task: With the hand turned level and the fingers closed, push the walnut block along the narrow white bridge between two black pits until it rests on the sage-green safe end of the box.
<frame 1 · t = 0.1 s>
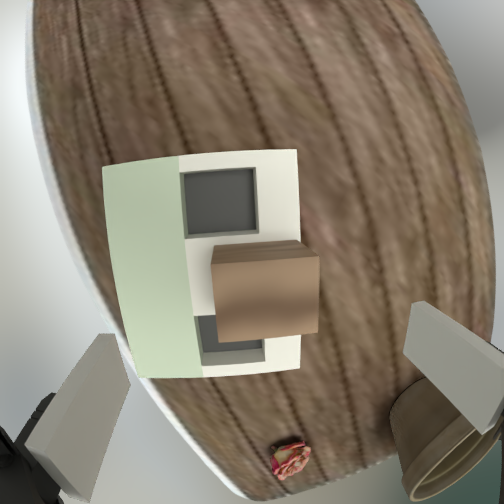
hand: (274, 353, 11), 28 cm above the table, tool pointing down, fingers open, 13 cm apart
plant pot: (416, 400, 50), on the table
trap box: (206, 269, 39), on the table
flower: (288, 444, 49), on the table
walnut block: (257, 274, 35), point 4 cm above the table, touching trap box
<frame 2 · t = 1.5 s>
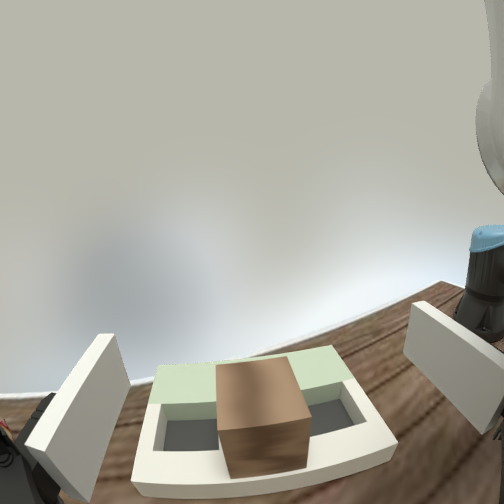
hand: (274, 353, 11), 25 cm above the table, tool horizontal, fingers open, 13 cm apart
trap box: (256, 425, 35), on the table
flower: (7, 459, 20), on the table
walnut block: (262, 442, 28), point 4 cm above the table, touching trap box
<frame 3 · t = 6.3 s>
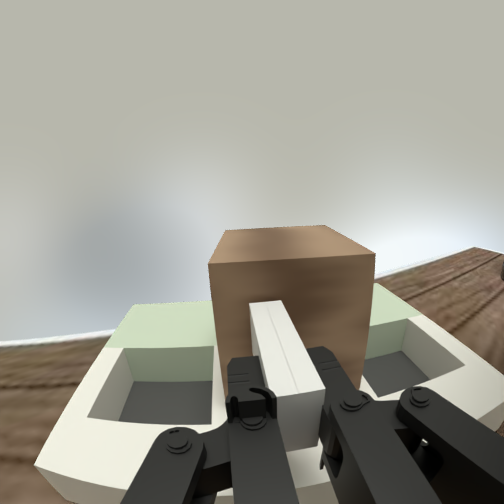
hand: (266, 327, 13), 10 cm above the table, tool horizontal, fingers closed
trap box: (279, 391, 22), on the table
walnut block: (285, 360, 20), point 4 cm above the table, touching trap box
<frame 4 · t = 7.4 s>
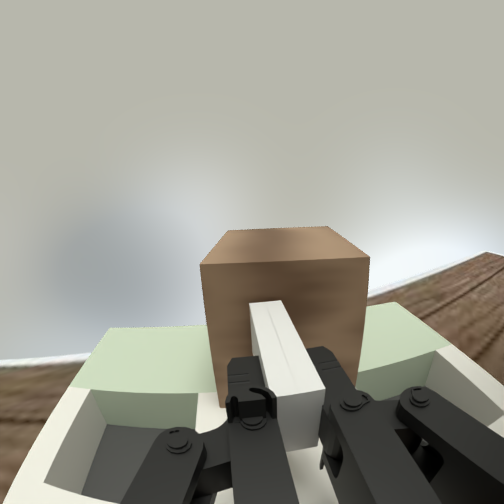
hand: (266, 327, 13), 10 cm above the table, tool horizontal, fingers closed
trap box: (280, 444, 16), on the table
walnut block: (283, 361, 20), point 4 cm above the table, touching gripper, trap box
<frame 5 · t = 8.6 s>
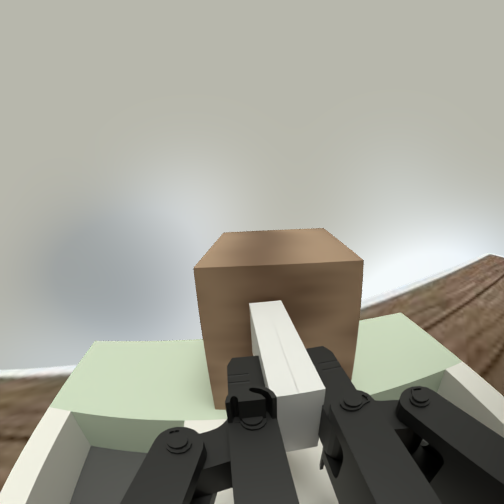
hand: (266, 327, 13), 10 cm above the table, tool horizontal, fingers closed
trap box: (275, 474, 14), on the table
walnut block: (279, 363, 20), point 4 cm above the table, touching gripper, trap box
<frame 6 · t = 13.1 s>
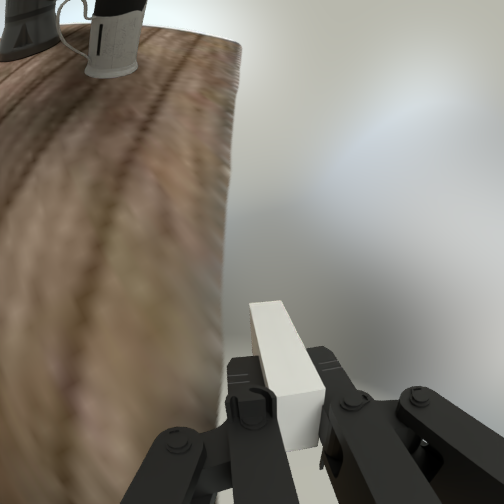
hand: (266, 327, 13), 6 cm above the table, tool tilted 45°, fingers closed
glass holder: (96, 73, 32), on the table
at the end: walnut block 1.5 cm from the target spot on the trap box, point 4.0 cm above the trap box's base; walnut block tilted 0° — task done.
